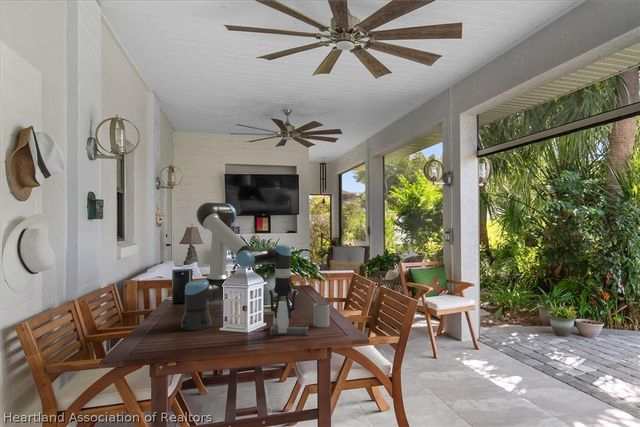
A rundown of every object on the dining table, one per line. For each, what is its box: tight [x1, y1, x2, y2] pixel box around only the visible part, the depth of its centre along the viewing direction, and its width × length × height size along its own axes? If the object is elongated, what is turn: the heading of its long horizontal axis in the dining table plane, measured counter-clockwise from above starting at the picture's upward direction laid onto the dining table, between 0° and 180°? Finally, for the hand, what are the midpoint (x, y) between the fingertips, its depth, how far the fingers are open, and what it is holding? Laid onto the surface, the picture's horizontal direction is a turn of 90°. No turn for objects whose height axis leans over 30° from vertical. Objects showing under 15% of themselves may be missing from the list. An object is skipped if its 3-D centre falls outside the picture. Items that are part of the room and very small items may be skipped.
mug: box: [312, 302, 330, 328], centre depth 204 cm, size 12×8×11 cm
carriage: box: [277, 301, 288, 333], centre depth 186 cm, size 4×4×14 cm
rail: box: [269, 325, 309, 336], centre depth 186 cm, size 18×4×3 cm, turn 92°
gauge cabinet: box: [272, 312, 289, 327], centre depth 195 cm, size 7×6×7 cm
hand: (282, 324), depth 186 cm, fingers closed on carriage, 4 cm apart
